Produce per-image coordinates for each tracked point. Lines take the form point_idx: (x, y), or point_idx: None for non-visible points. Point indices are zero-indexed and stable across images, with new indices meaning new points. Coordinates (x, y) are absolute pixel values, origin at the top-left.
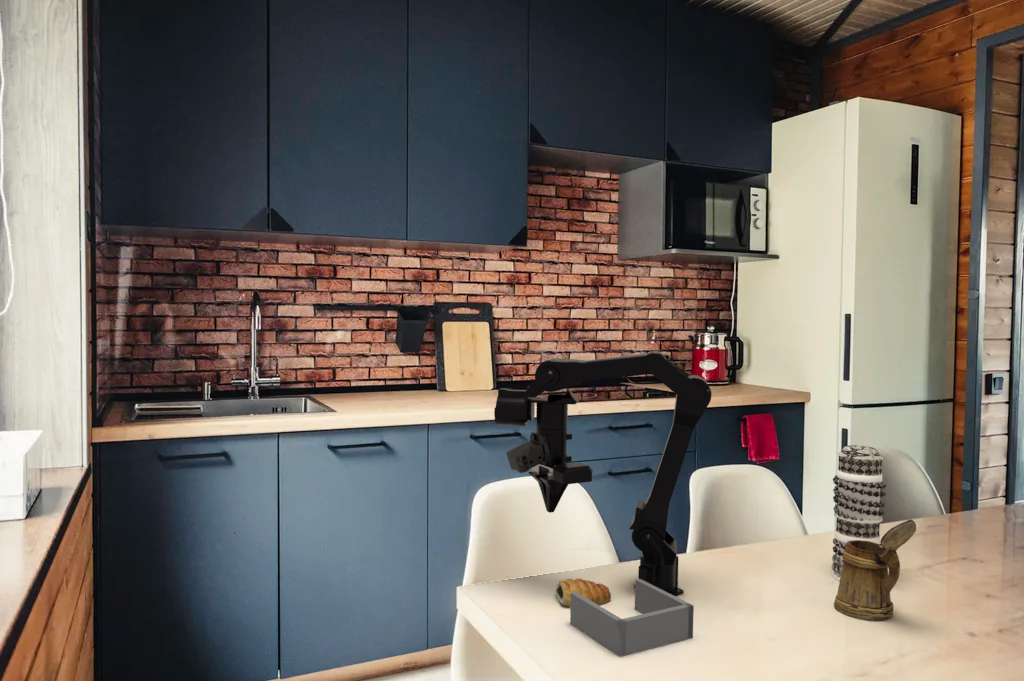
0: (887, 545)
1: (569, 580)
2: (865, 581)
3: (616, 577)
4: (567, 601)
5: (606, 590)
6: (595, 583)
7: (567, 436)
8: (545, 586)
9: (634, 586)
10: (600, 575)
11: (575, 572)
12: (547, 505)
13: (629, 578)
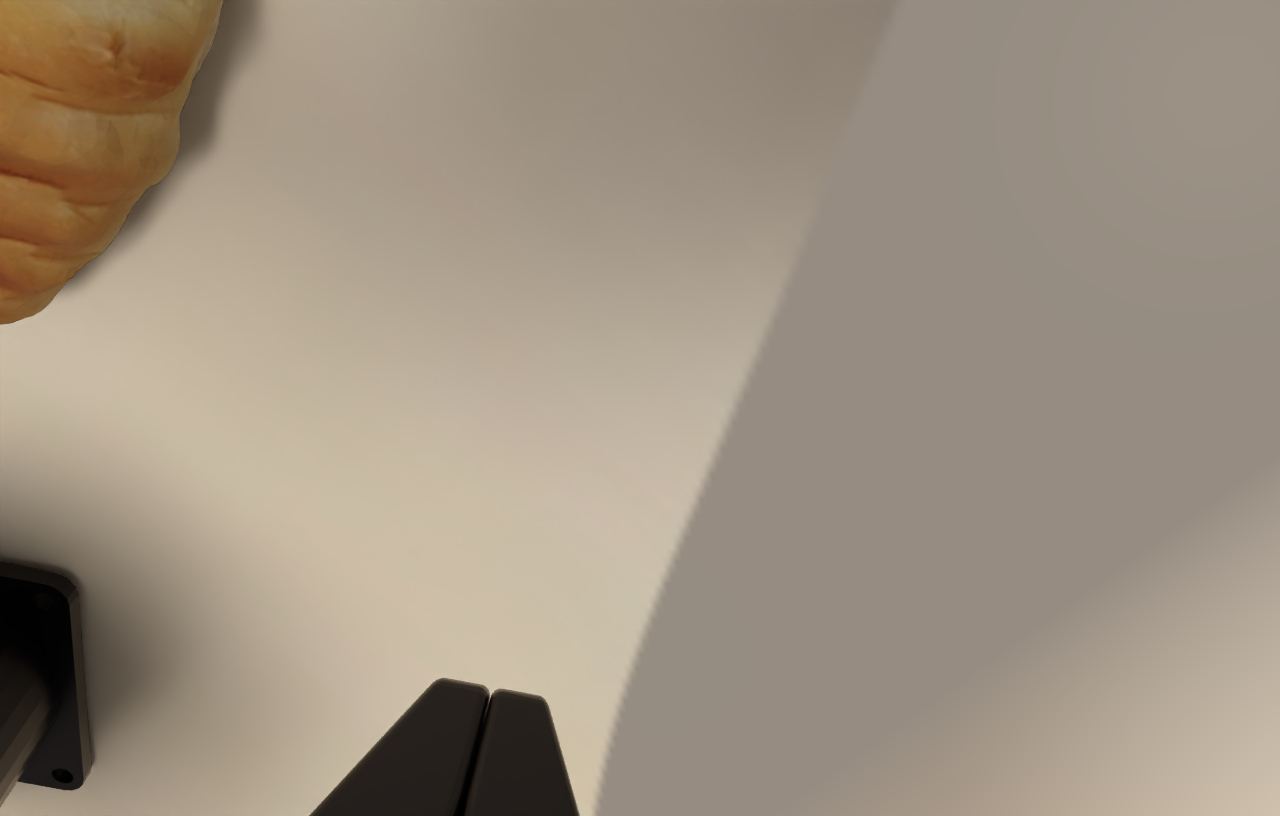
0: None
1: (2, 7)
2: None
3: (350, 646)
4: None
5: None
6: (28, 289)
7: None
8: (539, 13)
9: (52, 581)
10: (461, 595)
11: (654, 503)
12: (433, 789)
13: (278, 693)
